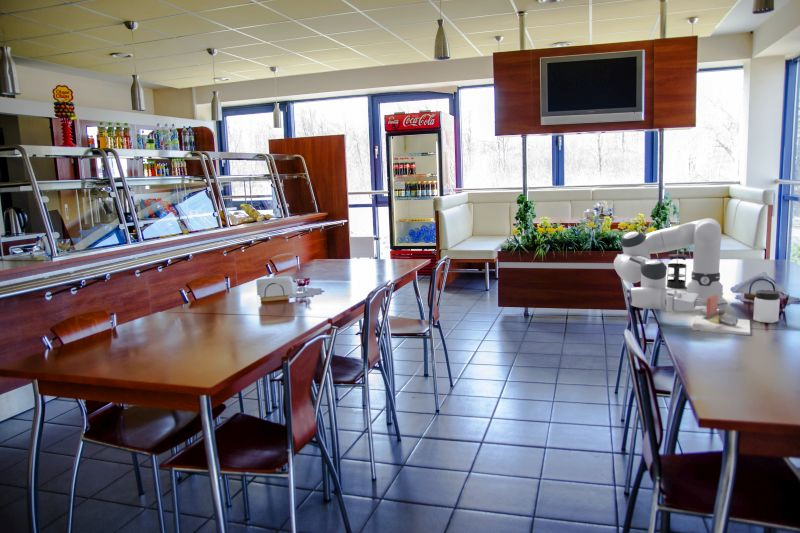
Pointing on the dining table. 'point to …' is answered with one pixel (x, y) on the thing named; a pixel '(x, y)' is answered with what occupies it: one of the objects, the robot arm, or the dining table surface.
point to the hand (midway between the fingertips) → (709, 303)
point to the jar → (766, 306)
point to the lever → (713, 307)
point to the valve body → (721, 318)
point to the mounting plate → (721, 326)
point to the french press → (676, 272)
